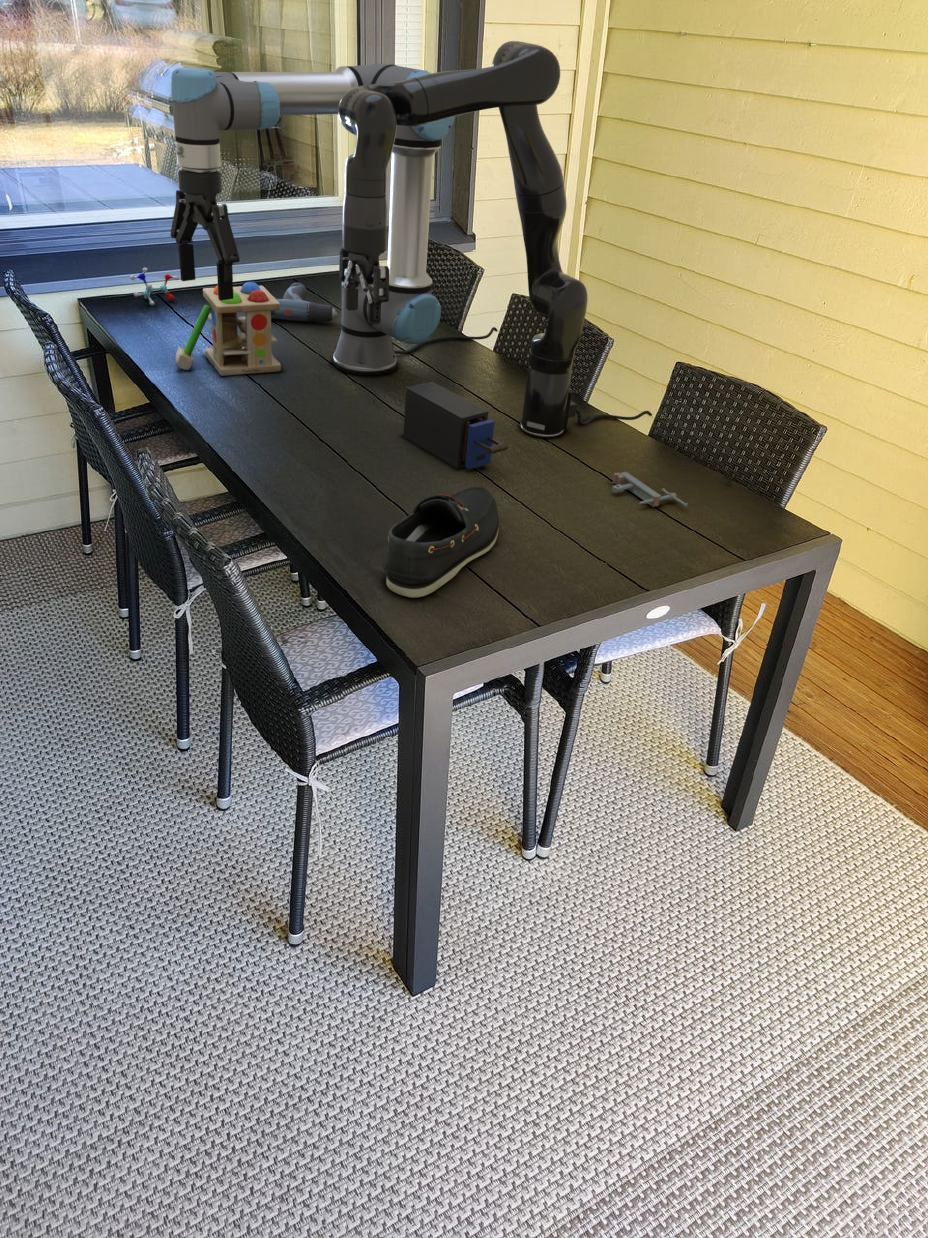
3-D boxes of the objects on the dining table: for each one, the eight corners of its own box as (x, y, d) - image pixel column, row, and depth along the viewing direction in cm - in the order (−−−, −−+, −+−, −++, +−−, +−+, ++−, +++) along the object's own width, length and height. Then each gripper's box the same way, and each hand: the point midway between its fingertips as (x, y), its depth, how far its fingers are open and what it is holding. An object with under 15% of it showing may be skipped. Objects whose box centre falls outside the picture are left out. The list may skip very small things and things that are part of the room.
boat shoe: (525, 530, 177) (530, 477, 171) (421, 604, 153) (423, 545, 147) (465, 510, 182) (468, 458, 177) (355, 579, 158) (355, 521, 153)
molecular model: (162, 296, 256) (148, 259, 255) (134, 310, 260) (120, 273, 259) (187, 299, 267) (174, 263, 265) (160, 312, 270) (147, 276, 269)
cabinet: (483, 461, 198) (488, 411, 192) (457, 469, 195) (461, 417, 188) (428, 430, 209) (432, 381, 203) (403, 436, 205) (405, 387, 199)
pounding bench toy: (183, 379, 220) (176, 299, 210) (169, 357, 231) (162, 280, 221) (282, 371, 230) (280, 294, 220) (264, 350, 240) (262, 276, 230)
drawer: (507, 473, 193) (512, 430, 188) (485, 479, 190) (490, 436, 185) (438, 433, 206) (441, 392, 201) (417, 438, 203) (419, 397, 198)
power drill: (344, 304, 276) (335, 327, 259) (277, 298, 275) (264, 321, 258) (344, 285, 273) (335, 306, 256) (277, 279, 272) (264, 300, 255)
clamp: (601, 475, 192) (641, 467, 197) (599, 485, 194) (639, 477, 198) (649, 509, 182) (690, 500, 186) (647, 519, 183) (688, 510, 188)
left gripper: (145, 155, 179) (155, 274, 191) (217, 183, 164) (224, 310, 176) (182, 153, 183) (190, 269, 195) (256, 180, 169) (260, 304, 181)
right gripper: (404, 230, 164) (400, 326, 173) (364, 210, 173) (362, 303, 183) (365, 233, 160) (362, 331, 169) (326, 212, 170) (326, 306, 179)
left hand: (206, 289), depth 186 cm, fingers open, 13 cm apart
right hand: (362, 316), depth 176 cm, fingers open, 8 cm apart
